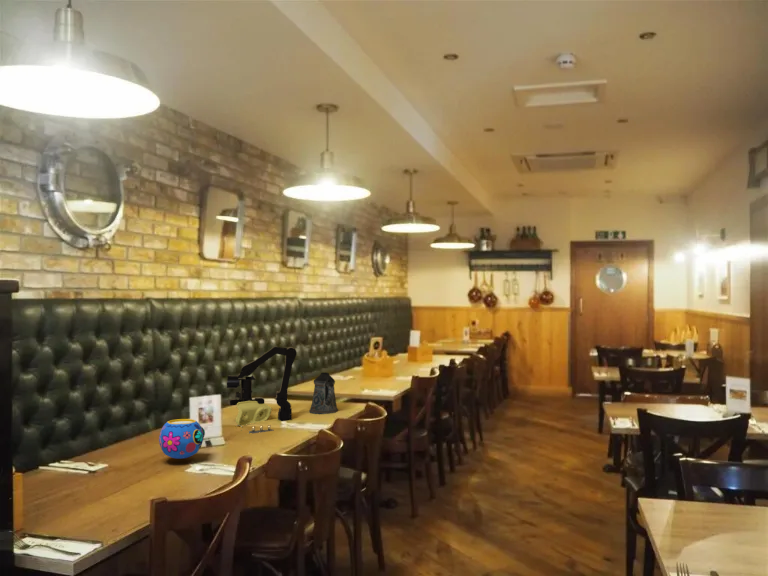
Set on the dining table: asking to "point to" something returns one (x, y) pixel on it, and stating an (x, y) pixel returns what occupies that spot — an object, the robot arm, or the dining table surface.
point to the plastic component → (252, 412)
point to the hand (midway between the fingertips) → (245, 417)
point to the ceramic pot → (181, 438)
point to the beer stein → (324, 395)
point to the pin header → (260, 429)
